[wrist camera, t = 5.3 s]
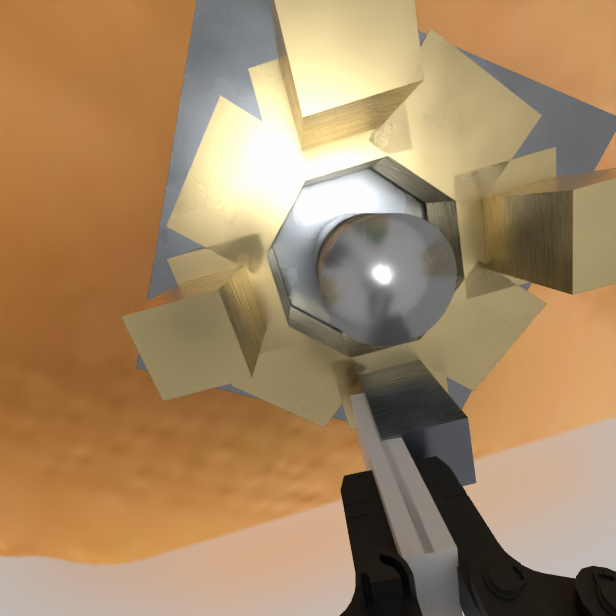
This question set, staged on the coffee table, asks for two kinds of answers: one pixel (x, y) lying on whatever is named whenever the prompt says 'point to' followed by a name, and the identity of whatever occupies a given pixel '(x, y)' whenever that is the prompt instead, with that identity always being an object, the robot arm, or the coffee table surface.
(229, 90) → the flange plate
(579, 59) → the coffee table surface
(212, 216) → the ring nut
